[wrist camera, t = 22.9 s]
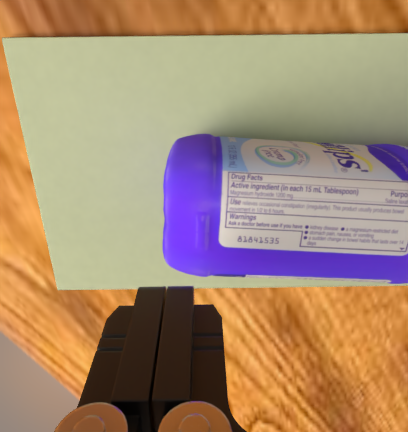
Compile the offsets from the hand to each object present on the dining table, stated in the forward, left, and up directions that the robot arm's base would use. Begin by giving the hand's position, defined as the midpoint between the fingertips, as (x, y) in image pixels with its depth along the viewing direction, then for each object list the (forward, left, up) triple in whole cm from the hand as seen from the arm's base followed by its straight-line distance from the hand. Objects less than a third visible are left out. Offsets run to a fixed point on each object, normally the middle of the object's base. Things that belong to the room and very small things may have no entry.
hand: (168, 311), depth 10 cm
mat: (0, -5, -11) cm, 12 cm away
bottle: (+1, +1, -7) cm, 7 cm away
